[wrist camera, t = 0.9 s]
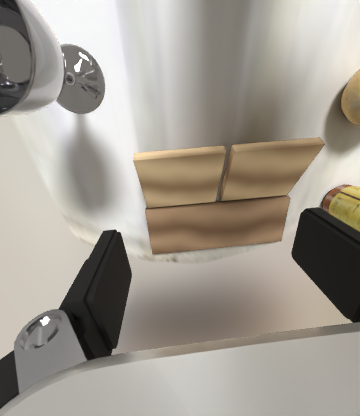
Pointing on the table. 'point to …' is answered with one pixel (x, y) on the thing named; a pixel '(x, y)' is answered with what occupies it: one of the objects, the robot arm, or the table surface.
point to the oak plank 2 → (267, 167)
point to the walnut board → (217, 224)
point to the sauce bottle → (344, 204)
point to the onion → (352, 99)
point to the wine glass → (42, 66)
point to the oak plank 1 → (180, 175)
